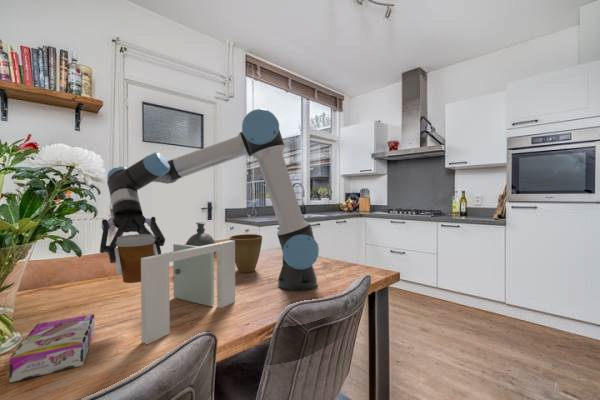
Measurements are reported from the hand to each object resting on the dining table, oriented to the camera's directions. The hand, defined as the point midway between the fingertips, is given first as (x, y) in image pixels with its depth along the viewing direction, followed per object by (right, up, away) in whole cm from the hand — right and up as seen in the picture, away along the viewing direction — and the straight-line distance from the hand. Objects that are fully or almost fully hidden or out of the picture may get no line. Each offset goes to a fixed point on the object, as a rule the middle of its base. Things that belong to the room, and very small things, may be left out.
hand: (139, 268), depth 74 cm
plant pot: (+18, -15, +55) cm, 59 cm away
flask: (-5, -15, +59) cm, 61 cm away
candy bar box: (-14, -13, -6) cm, 20 cm away
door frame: (+13, -15, +4) cm, 21 cm away
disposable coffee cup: (-2, -4, +3) cm, 5 cm away
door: (+8, -15, +17) cm, 24 cm away
